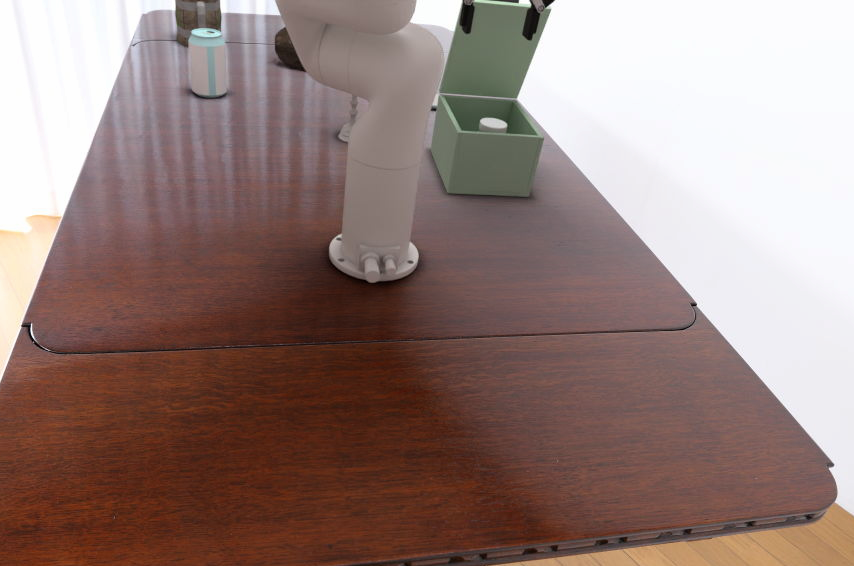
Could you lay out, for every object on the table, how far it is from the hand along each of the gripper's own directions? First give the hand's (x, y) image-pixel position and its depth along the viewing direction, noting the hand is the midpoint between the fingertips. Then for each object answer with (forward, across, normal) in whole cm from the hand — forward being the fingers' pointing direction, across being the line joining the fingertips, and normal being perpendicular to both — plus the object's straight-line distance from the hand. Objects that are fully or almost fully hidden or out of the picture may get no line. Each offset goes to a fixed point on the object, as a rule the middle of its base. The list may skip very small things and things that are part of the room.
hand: (496, 35), depth 103 cm
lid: (+5, +3, +11) cm, 12 cm away
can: (+25, -47, +38) cm, 65 cm away
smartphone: (+25, -4, +41) cm, 48 cm away
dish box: (+25, +3, +6) cm, 26 cm away
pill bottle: (+24, +3, +3) cm, 25 cm away
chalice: (+25, -19, +19) cm, 37 cm away
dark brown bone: (+24, -27, +70) cm, 79 cm away
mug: (+25, -52, +71) cm, 91 cm away
